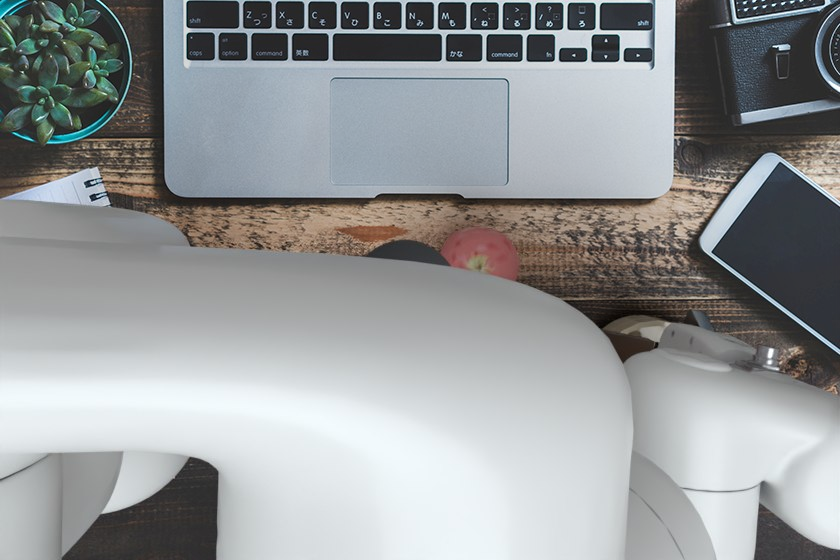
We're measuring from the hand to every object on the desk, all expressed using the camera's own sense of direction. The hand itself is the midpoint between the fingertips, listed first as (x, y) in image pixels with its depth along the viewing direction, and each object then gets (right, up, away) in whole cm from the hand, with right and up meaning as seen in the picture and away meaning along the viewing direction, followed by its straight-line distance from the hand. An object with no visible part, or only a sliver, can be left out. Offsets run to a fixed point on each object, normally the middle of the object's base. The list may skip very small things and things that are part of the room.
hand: (653, 368), depth 63 cm
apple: (-17, +10, +3) cm, 19 cm away
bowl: (0, -1, +4) cm, 4 cm away
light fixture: (-23, +9, +3) cm, 25 cm away
